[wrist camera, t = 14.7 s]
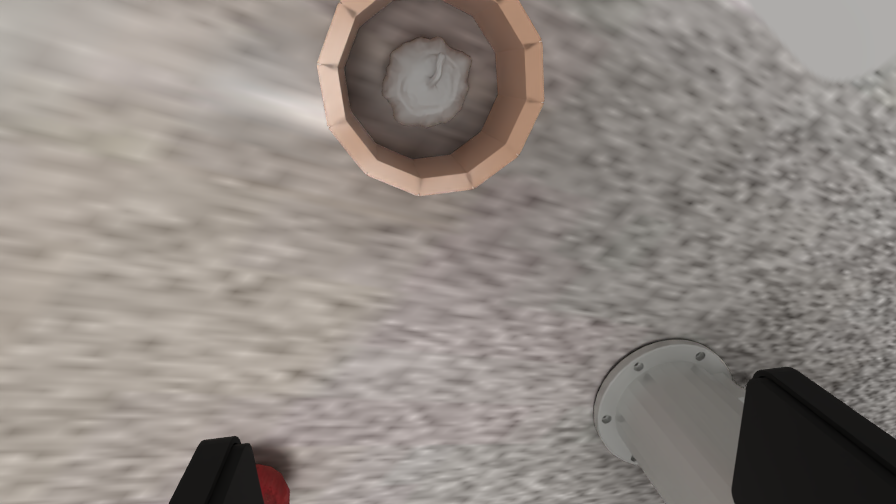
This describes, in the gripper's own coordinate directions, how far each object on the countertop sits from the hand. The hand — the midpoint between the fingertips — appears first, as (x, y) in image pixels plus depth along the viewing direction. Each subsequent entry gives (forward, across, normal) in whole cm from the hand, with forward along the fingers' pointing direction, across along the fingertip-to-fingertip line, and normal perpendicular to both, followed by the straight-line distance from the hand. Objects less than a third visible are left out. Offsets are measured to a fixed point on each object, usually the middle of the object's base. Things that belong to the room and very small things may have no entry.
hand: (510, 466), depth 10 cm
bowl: (+28, -1, -7) cm, 29 cm away
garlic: (+28, -1, -7) cm, 29 cm away
